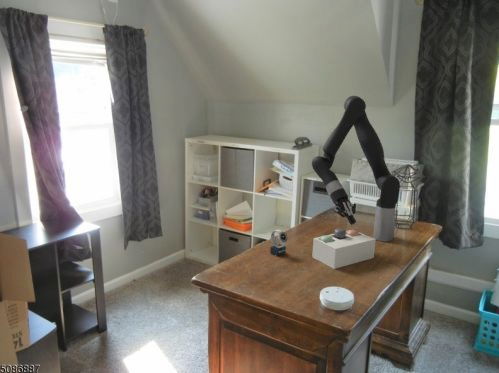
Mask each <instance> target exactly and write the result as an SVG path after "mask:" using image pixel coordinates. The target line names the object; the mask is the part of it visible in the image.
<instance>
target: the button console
mask: <svg viewBox="0 0 499 373" xmlns="http://www.w3.org/2000/svg"><path fill="white" fill-rule="evenodd" d="M347 231H348V230H346V238H345V239H341V240H339V239H337V238H335V237H334V233H331V234H328V235H327V234H326V235H327V236H331V237H332V242H328V243H325V242H323V241H321V236H318V237H314V238H313V239H312V240H313V243H312V254H311V255H312V258H313V259H315V260H317V261H318V262H320V263H323V264H324V265H325V266H328V267H330V268H331V269H333V270H336V269H339V268H343V267H346V266H349V265H353V264H357V263H360V262H364V261H367V260H368V261H369V260H371V259H374V258H375V248H376V241H377V240H376V239H374V238H373V236H372V237H371V236H369V235H367V234H364V233H362V232H359V231H358V232H359V233H358V236H354V237H352V236H350V235H347Z"/></svg>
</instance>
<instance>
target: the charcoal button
mask: <svg viewBox="0 0 499 373" xmlns="http://www.w3.org/2000/svg"><path fill="white" fill-rule="evenodd" d="M346 231H347V230H346V229H345V228H338V227H337V228H335V229H334V233H333V234H334V237H335V238H337V239H339V240H341V239H345V238H346Z"/></svg>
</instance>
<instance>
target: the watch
mask: <svg viewBox="0 0 499 373" xmlns="http://www.w3.org/2000/svg"><path fill="white" fill-rule="evenodd" d="M275 233H276V234H277V238H276V236H275ZM270 240H271V243H272V246H270V251H269V252H270V253H271V255H273V256H275V255H276V257H279V256H282V255H284V253H285V254H286V248H287V247H286V244H287V242H288V235H287V233H286V232H284V230H282V229H276V230H272V231H271V233H270ZM277 240H278V241H279V243H280V244H278V242H277Z"/></svg>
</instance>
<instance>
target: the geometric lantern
mask: <svg viewBox="0 0 499 373" xmlns="http://www.w3.org/2000/svg"><path fill="white" fill-rule="evenodd" d="M410 170H412V171H413V172H411V171H410ZM402 171H403V172H402ZM407 172H408V173H407ZM390 173H391V175H393V176H395V177H396V178H398V180H399V182H400V188H401V187H403V188H412V189H403V191H407V192H411V198H410V204H409V205H410V206H409V207H410V208H409V214H398V204H399V201H398V202H397V203H396V208H395V218H394V221H395V228H396V229H400V227H399V226H401V225H402V226H409V228H408V227H401V229H405V230H412V228H413V225H415V223H416V222H418V195H419V194H418V193H419V189H418V186H419V184H420V183H421V182H422V181H423V179H424V178H426V176H425V175H423V174H422V173H421V172H419V171H418V170H417V169H416V168H415V167H414V166H413V165H412V164H404V165H402V166H399V167H398V168H395V169H394V170H392V171H391V172H390ZM401 174H403V175H401ZM416 174H417V175H418V176H415V177H414V175H416ZM412 179H413V180H412ZM406 180H407V181H406ZM414 181H418V182H417V184H416V185H415V186H414V184H413V182H414ZM401 182H403V184H410V185H411V186H409V185H403V184H402V183H401ZM412 204H413V206H412ZM412 209H413V210H412ZM411 213H412V215H411ZM398 216H399V217H408V218H407V219H406V220H401V219H397V218H398ZM410 217H411V219H410ZM400 222H401V223H400Z"/></svg>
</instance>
